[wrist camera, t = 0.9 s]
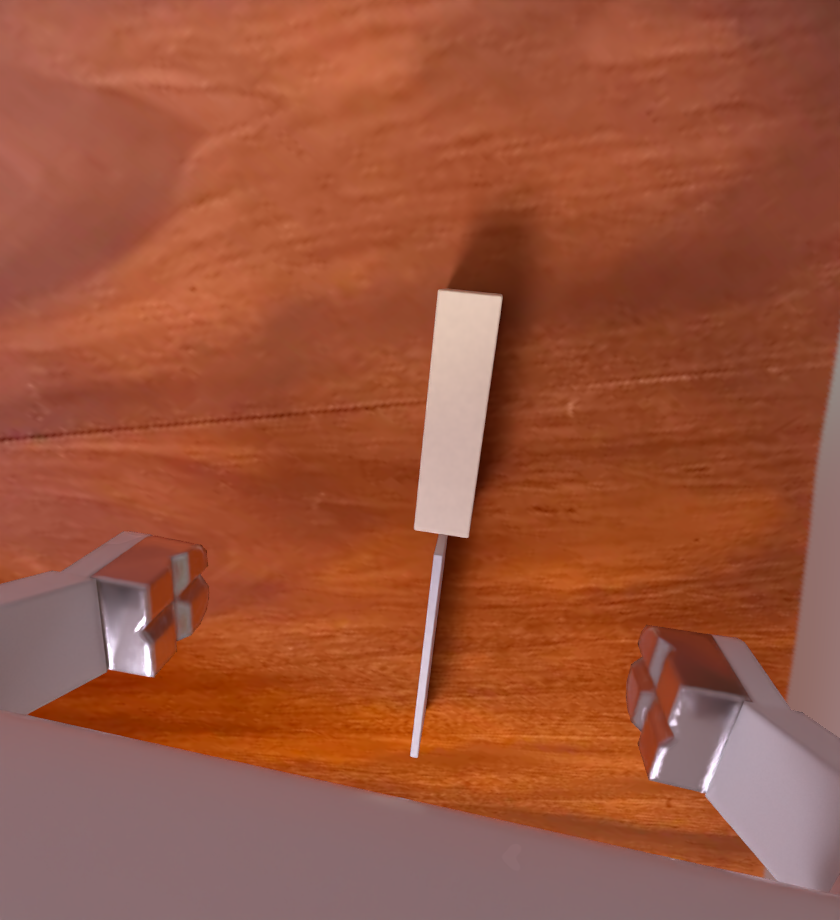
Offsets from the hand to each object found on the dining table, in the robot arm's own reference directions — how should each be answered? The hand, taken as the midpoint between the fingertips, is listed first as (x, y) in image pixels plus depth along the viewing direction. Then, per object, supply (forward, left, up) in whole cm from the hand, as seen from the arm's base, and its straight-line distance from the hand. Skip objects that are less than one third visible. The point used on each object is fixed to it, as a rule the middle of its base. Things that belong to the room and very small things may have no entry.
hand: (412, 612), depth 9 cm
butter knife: (+4, +4, -15) cm, 16 cm away
